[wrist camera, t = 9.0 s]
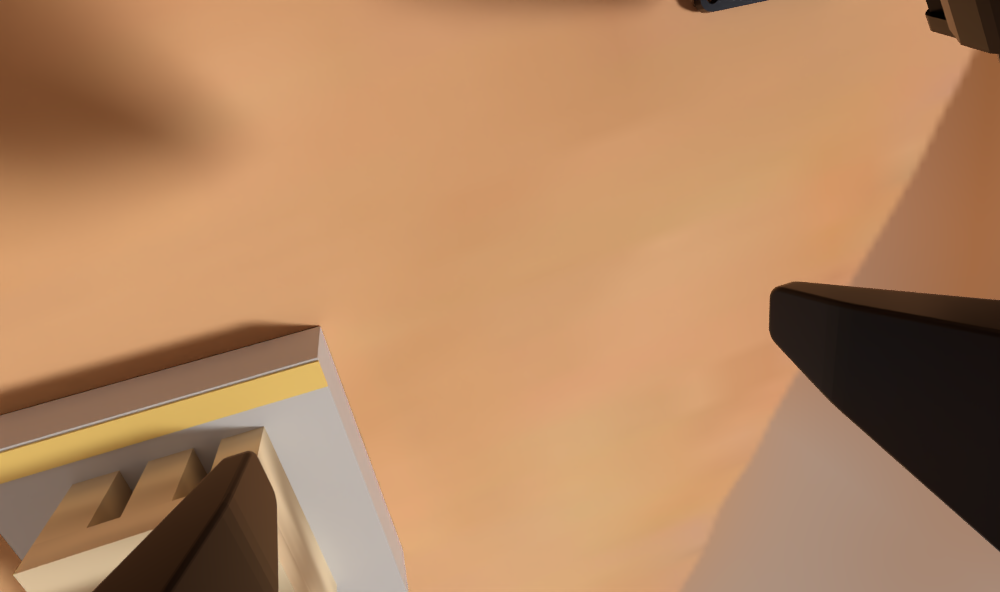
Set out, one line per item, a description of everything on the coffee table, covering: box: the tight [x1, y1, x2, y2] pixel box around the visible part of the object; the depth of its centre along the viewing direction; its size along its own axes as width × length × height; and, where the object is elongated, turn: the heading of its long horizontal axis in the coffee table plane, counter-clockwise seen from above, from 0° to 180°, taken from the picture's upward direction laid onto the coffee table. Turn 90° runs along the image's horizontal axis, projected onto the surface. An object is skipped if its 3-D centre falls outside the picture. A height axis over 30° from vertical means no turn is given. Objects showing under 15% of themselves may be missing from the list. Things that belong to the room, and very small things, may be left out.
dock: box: [0, 326, 408, 592], centre depth 21 cm, size 11×12×3 cm
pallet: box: [13, 427, 337, 592], centre depth 18 cm, size 8×6×4 cm
